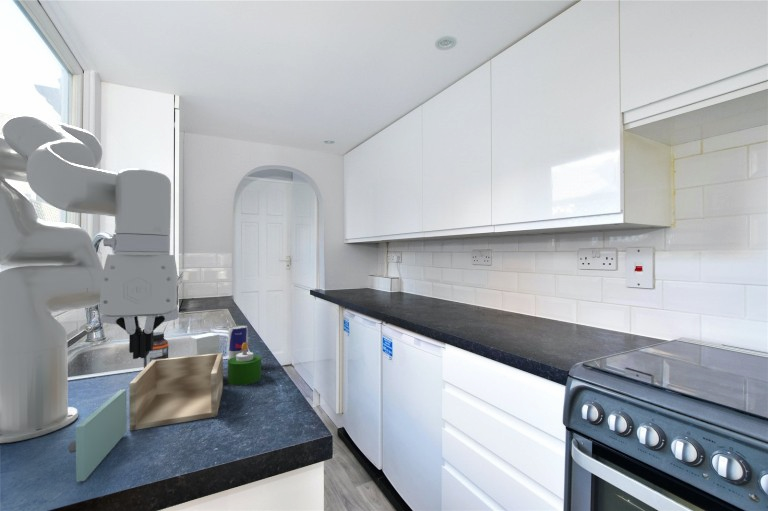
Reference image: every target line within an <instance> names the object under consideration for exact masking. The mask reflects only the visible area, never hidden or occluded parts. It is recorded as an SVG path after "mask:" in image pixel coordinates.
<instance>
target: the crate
mask: <svg viewBox="0 0 768 511" xmlns="http://www.w3.org/2000/svg"><path fill="white" fill-rule="evenodd" d="M223 360H224V354H223V352H220V353H216V354H206V355H197V356H190V355H189V356H179V357H170V358H169V357H168V358H167V359H157V360H152V361H151V362H150V363H149V364H148V365H147V366H146V367H145V368H144V367H143V369H142V370H141V371H140V372H139V373H138V374H137V375H136V376H135V377H134V378H133V379H132V380H131V381H130V382H129V384H128V386H129V389H128V390H129V394H128V396H129V398H128V399H129V401H128V402H129V404H128V405H129V406H128V407H129V431H134V430H136V431H137V430H143V429H148V428H154V427H155V428H156V427H161V426H165V425H167V426H168V425H173V424H178V423H185V422H190V421H196V420H203V419H209V418H216V417H217V416H218V413H219V408H220V403H221V398H222V395H223V391H224V365H223V364H224V361H223Z"/></svg>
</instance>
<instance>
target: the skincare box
mask: <svg viewBox="0 0 768 511" xmlns="http://www.w3.org/2000/svg"><path fill="white" fill-rule="evenodd" d="M189 347H190V348H189V354H190V355H189V356H197V355H206V354H216V353H221V351H220V334H219V333H215V332H207V333H203V334H198V335H192V336H189Z"/></svg>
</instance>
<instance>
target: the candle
mask: <svg viewBox="0 0 768 511" xmlns="http://www.w3.org/2000/svg"><path fill="white" fill-rule="evenodd" d="M261 379H262V357H261V355H258V354H254V352H251V351H250V352H249V351H248V352H247V344H246V343H243V344H242V353H239V354H237V355H236V357H233V358H231V359H229V358H228V360H227V383H228V384H229V385H232V386H244V385H250V384H254V383H256V382H259V381H260V380H261Z"/></svg>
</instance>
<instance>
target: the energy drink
mask: <svg viewBox="0 0 768 511" xmlns="http://www.w3.org/2000/svg"><path fill="white" fill-rule="evenodd" d="M248 328H249V327H248V326H247V325H243V324H242V325H241V324H239V325H233V326H229V328H228V332H227V333H228V360H229V359H231V358H233V357H236V355H237V354H239V353H242V344H243V343H246V344H247V352H249V333H248V332H249V329H248Z"/></svg>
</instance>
